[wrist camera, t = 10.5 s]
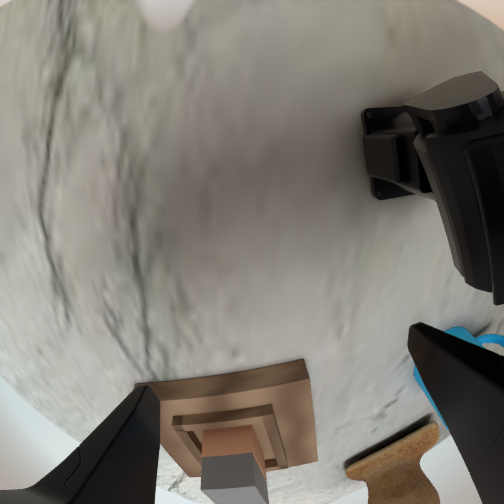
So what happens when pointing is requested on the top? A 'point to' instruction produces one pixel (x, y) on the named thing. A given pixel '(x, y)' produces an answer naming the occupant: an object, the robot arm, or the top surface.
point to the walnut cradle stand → (240, 414)
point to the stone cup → (399, 470)
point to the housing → (233, 466)
